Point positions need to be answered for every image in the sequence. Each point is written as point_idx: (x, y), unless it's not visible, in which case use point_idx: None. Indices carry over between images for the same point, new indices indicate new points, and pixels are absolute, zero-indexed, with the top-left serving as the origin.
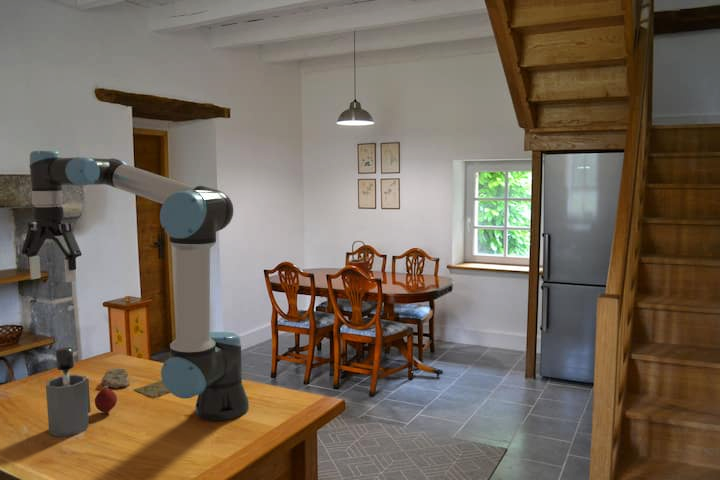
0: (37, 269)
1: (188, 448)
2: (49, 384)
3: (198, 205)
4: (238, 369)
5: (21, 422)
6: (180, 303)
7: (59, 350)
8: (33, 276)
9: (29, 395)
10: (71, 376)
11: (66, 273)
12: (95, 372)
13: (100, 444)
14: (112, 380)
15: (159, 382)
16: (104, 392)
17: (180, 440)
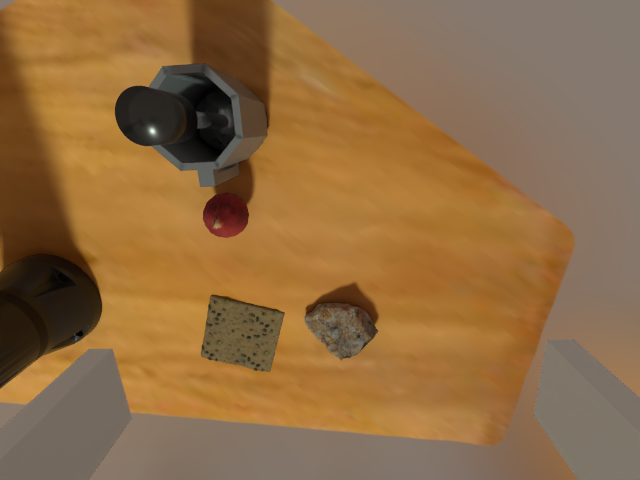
0: (600, 474)
1: None
2: (215, 83)
3: None
4: None
5: (355, 102)
6: None
7: (146, 99)
8: (562, 369)
9: (470, 212)
10: (219, 156)
11: (29, 413)
12: (439, 355)
13: (116, 96)
14: (335, 317)
15: (263, 355)
16: (212, 213)
17: (9, 172)
